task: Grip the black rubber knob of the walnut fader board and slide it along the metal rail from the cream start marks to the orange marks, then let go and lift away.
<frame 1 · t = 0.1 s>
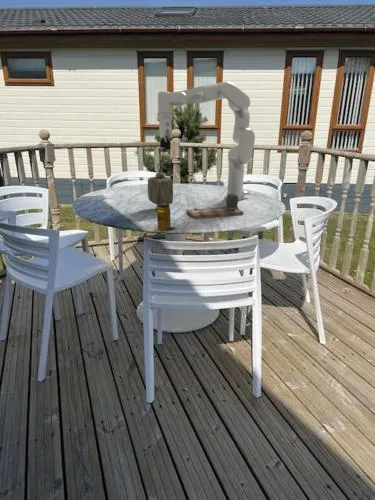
hand: (165, 148, 201), 31 cm above the table, tool pointing down, fingers open, 9 cm apart
fader slider: (232, 201, 192), point 6 cm above the table, slide at 0.0 cm
condiment: (165, 229, 166), on the table
fader board: (214, 213, 192), on the table
tabletop clock: (160, 209, 198), on the table
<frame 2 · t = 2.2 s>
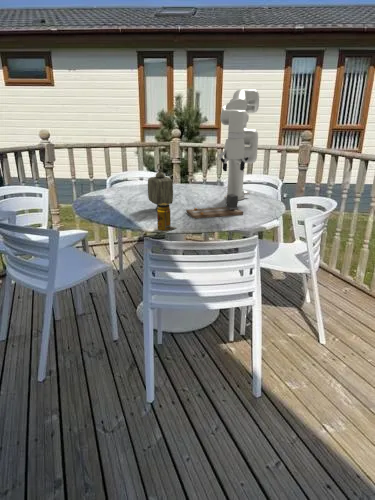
hand: (233, 170, 186), 22 cm above the table, tool pointing down, fingers open, 9 cm apart
nothing on the table moved.
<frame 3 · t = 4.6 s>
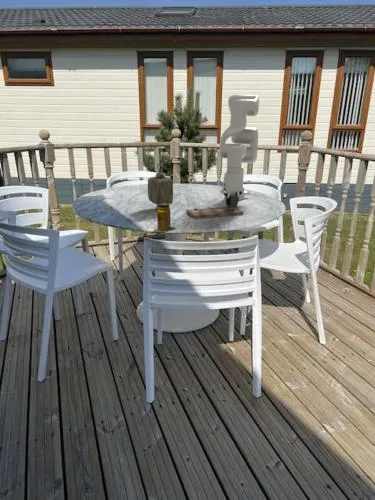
hand: (231, 204, 193), 5 cm above the table, tool pointing down, fingers closed on fader slider, 4 cm apart
fader slider: (232, 201, 192), point 6 cm above the table, slide at 0.0 cm, touching gripper
everything else where it was.
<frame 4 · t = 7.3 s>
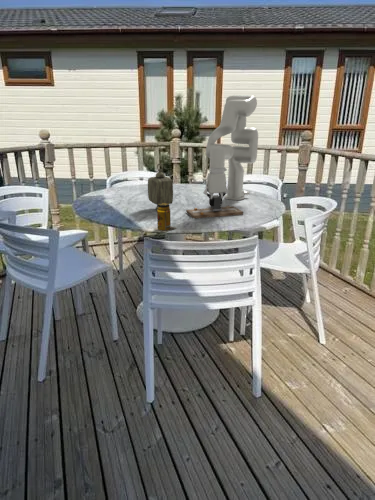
hand: (215, 205, 190), 5 cm above the table, tool pointing down, fingers closed on fader slider, 4 cm apart
fader slider: (215, 203, 190), point 6 cm above the table, slide at 9.6 cm, touching gripper
everything else where it was.
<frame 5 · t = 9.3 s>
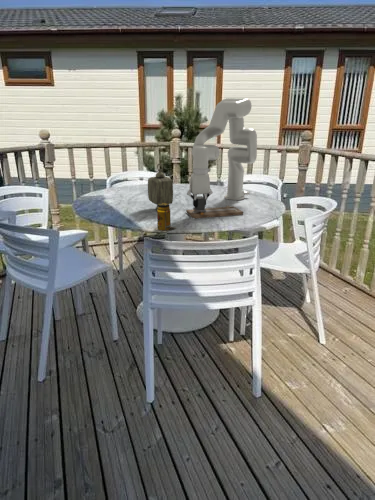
hand: (199, 206, 187), 5 cm above the table, tool pointing down, fingers closed on fader slider, 4 cm apart
fader slider: (199, 204, 187), point 6 cm above the table, slide at 18.7 cm, touching gripper
everything else where it was.
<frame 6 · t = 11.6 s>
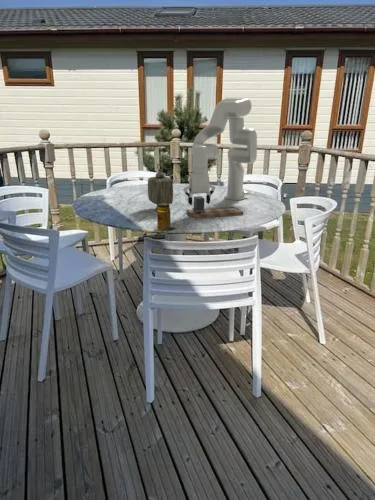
hand: (199, 203, 187), 6 cm above the table, tool pointing down, fingers open, 9 cm apart
fader slider: (199, 204, 187), point 6 cm above the table, slide at 19.0 cm
everything else where it was.
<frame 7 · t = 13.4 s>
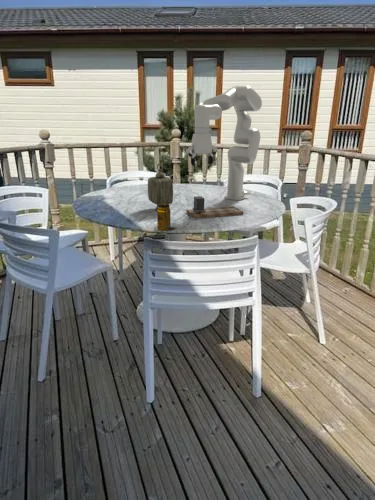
hand: (201, 164, 189), 25 cm above the table, tool pointing down, fingers open, 9 cm apart
nothing on the table moved.
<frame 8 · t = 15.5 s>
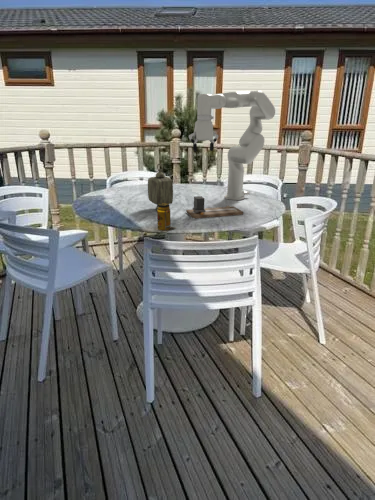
hand: (203, 151, 200), 30 cm above the table, tool pointing down, fingers open, 9 cm apart
nothing on the table moved.
at the end: fader slider slide at 19.0 cm; the gripper is holding nothing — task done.
